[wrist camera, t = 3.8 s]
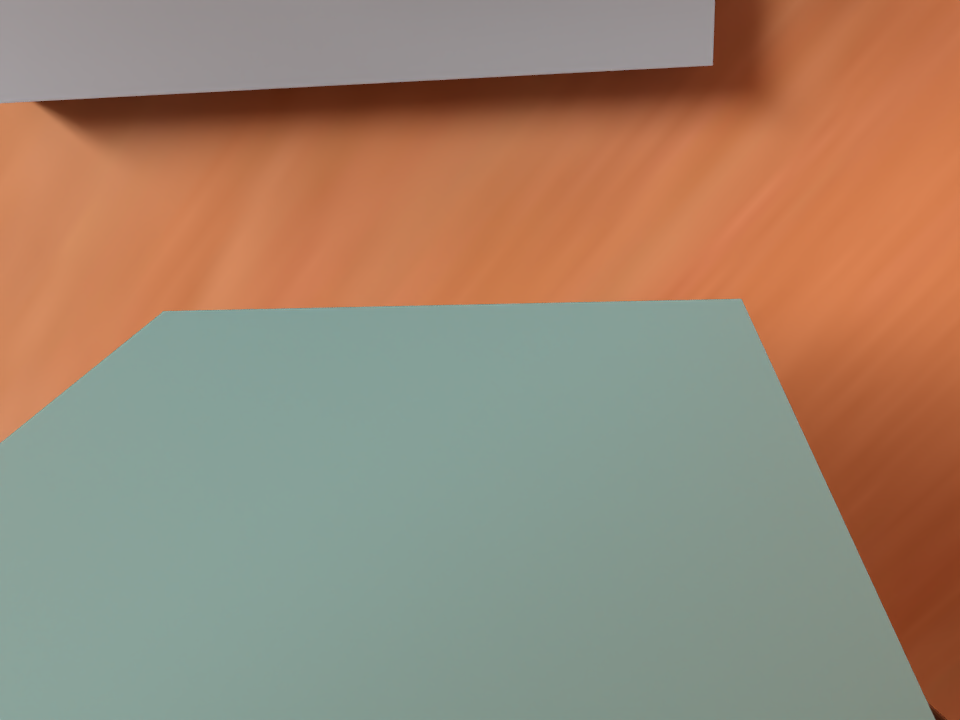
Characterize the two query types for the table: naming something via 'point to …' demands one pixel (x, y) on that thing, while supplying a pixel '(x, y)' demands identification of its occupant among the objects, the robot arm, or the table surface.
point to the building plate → (330, 42)
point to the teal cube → (435, 526)
